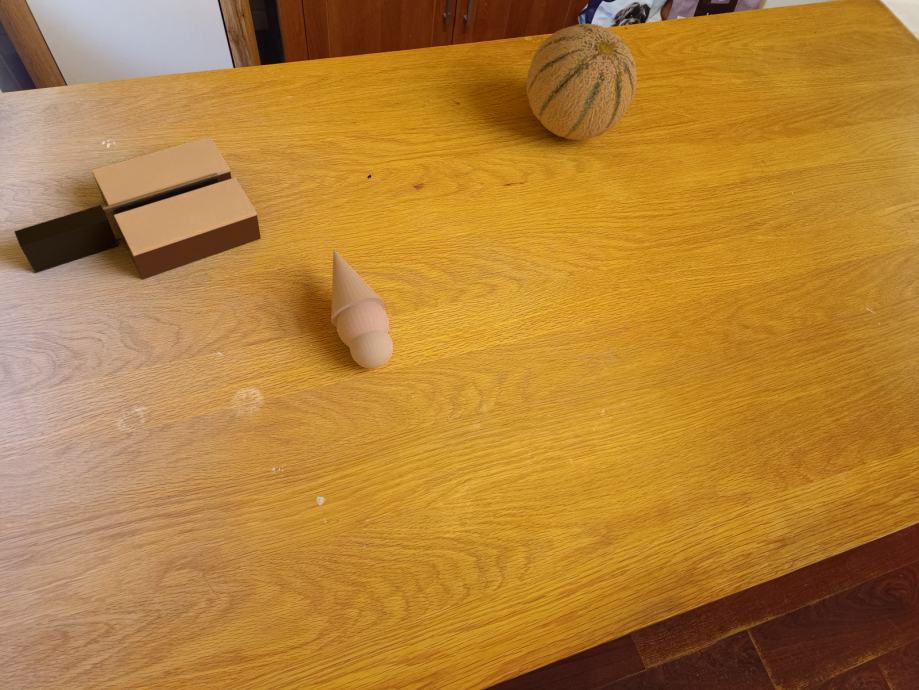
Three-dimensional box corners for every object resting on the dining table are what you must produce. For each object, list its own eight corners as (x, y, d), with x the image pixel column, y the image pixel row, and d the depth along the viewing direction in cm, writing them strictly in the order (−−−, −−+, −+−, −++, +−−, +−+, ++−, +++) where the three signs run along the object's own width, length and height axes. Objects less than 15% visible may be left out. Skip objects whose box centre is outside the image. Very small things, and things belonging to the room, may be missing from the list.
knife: (35, 273, 81) (18, 243, 77) (29, 258, 82) (12, 227, 78) (227, 210, 89) (221, 179, 85) (219, 197, 91) (213, 166, 86)
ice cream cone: (338, 225, 79) (386, 347, 74) (369, 241, 84) (416, 356, 79) (295, 255, 81) (339, 376, 76) (328, 269, 86) (371, 382, 81)
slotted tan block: (142, 279, 82) (132, 253, 79) (102, 198, 88) (91, 169, 85) (261, 238, 88) (256, 212, 84) (215, 164, 94) (210, 136, 90)
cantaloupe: (533, 82, 111) (556, -14, 98) (627, 112, 109) (662, 18, 97) (504, 141, 102) (524, 45, 90) (605, 174, 101) (640, 81, 89)
